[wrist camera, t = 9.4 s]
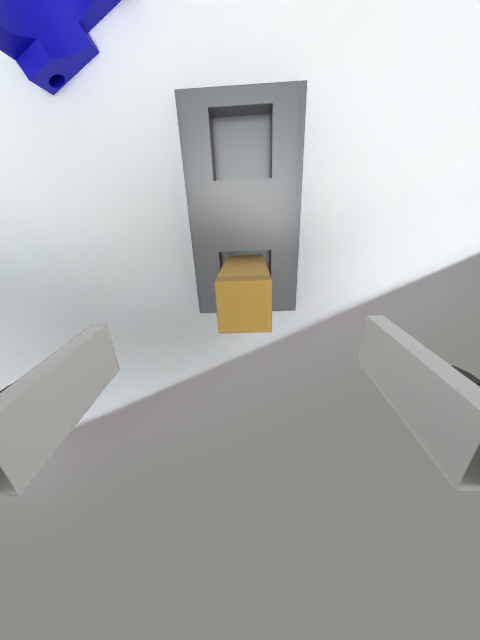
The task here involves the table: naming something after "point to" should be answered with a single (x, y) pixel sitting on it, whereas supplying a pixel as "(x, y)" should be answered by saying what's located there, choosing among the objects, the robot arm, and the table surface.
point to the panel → (244, 180)
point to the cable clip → (51, 37)
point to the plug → (244, 295)
